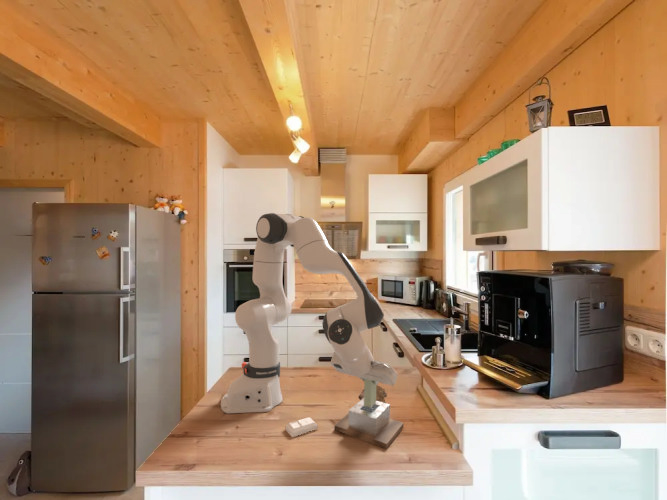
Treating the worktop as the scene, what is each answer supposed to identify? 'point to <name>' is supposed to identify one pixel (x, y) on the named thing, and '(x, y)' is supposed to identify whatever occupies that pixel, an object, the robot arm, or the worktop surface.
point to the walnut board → (381, 439)
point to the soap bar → (301, 426)
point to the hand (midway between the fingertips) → (371, 380)
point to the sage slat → (369, 393)
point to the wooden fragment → (377, 394)
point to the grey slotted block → (369, 417)
